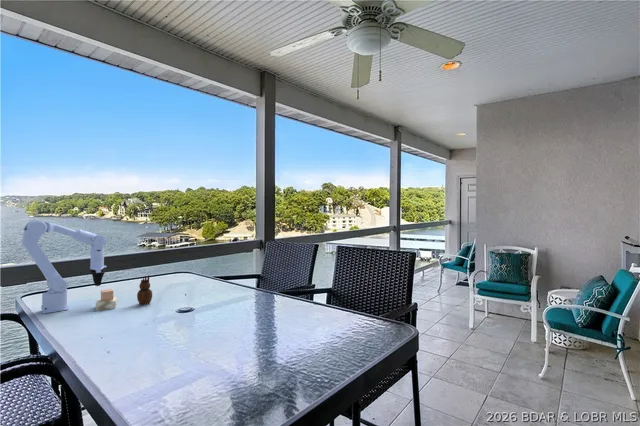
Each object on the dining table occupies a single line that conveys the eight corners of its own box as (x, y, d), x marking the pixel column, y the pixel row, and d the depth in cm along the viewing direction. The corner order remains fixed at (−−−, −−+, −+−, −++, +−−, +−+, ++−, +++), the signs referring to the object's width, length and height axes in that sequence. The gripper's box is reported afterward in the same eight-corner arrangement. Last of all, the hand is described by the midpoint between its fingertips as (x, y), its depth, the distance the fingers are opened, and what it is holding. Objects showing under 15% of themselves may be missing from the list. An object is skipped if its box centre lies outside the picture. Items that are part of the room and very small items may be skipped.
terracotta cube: (102, 301, 158) (102, 292, 158) (100, 299, 161) (100, 290, 161) (113, 299, 161) (113, 290, 161) (111, 297, 164) (111, 288, 164)
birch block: (95, 311, 155) (95, 302, 155) (98, 306, 162) (98, 298, 162) (115, 309, 159) (115, 301, 159) (117, 304, 166) (117, 296, 166)
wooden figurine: (154, 302, 169) (154, 273, 169) (147, 305, 164) (147, 276, 163) (142, 301, 170) (142, 273, 170) (134, 305, 164) (135, 275, 164)
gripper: (108, 259, 165) (108, 286, 165) (104, 255, 176) (104, 280, 176) (91, 260, 160) (91, 288, 160) (89, 256, 171) (88, 282, 172)
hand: (97, 284), depth 168 cm, fingers open, 7 cm apart
